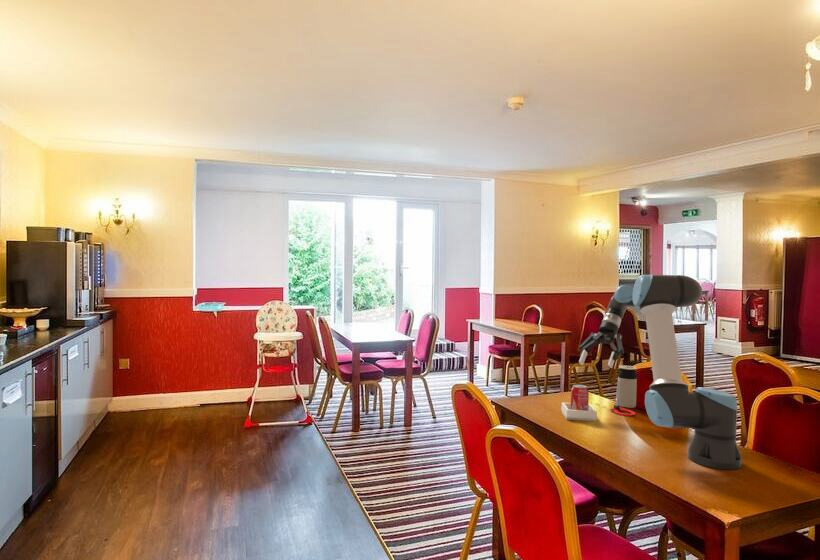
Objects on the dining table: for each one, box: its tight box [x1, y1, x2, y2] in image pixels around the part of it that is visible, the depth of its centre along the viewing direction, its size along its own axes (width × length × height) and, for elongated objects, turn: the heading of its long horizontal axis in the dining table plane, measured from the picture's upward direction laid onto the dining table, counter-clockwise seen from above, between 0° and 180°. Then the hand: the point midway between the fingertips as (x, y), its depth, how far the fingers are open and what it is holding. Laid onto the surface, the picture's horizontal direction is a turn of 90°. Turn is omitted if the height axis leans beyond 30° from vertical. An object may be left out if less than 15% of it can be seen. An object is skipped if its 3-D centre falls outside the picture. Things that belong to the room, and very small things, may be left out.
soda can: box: [570, 383, 590, 411], centre depth 212 cm, size 7×7×12 cm
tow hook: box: [609, 381, 636, 417], centre depth 219 cm, size 8×13×9 cm
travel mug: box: [617, 365, 638, 409], centre depth 231 cm, size 8×8×18 cm
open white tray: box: [561, 402, 598, 422], centre depth 213 cm, size 12×12×4 cm
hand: (594, 364), depth 216 cm, fingers open, 13 cm apart
